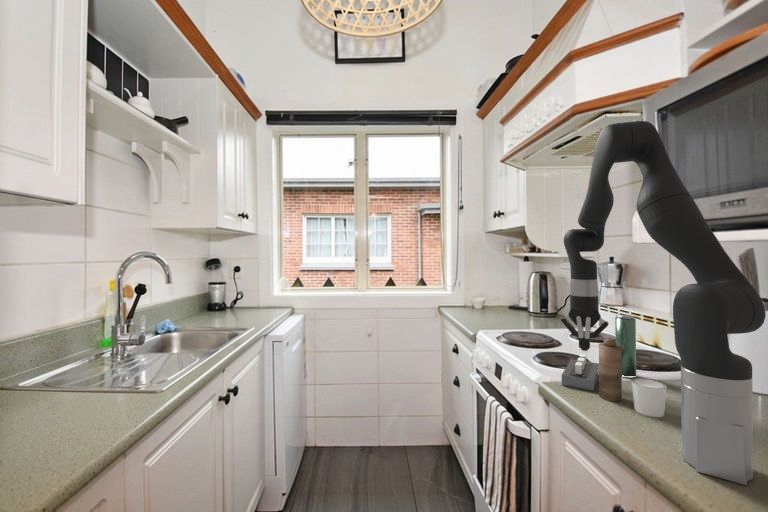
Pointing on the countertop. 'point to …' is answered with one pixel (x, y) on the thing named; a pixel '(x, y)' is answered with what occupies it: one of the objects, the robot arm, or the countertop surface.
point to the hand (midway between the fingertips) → (584, 350)
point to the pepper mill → (610, 371)
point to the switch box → (581, 376)
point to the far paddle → (584, 357)
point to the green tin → (626, 342)
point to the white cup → (649, 397)
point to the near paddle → (578, 368)
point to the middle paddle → (581, 361)
